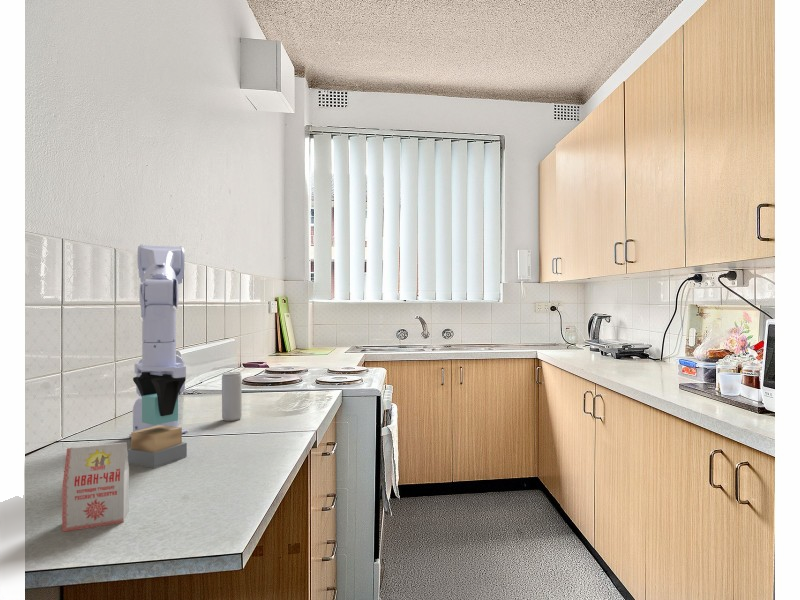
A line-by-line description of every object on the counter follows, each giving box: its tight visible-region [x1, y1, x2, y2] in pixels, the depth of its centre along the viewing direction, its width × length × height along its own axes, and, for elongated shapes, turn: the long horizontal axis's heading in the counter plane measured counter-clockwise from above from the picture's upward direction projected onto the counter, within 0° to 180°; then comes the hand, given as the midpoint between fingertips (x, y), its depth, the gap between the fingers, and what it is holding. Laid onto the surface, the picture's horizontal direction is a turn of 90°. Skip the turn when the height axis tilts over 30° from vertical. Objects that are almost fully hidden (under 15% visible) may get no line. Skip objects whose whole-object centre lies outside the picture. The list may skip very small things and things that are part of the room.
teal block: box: [142, 394, 178, 425], centre depth 88 cm, size 4×4×5 cm
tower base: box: [127, 441, 188, 469], centre depth 87 cm, size 7×7×3 cm
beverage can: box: [221, 371, 243, 422], centre depth 120 cm, size 5×5×12 cm
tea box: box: [61, 441, 130, 532], centre depth 61 cm, size 4×7×10 cm, turn 111°
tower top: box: [130, 425, 183, 452], centre depth 87 cm, size 6×6×3 cm
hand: (159, 413), depth 88 cm, fingers closed on teal block, 4 cm apart
